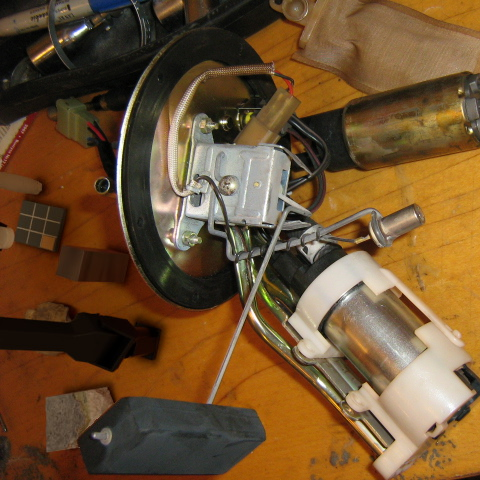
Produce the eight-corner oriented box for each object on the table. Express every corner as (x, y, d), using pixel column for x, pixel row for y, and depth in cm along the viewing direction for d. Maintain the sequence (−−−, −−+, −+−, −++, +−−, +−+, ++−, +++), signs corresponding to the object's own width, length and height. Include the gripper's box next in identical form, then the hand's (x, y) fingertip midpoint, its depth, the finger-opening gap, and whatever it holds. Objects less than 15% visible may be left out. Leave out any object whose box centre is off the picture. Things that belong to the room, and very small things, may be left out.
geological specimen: (40, 398, 96) (90, 388, 90) (67, 393, 101) (115, 383, 95) (43, 453, 93) (94, 446, 88) (70, 444, 99) (121, 437, 93)
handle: (29, 180, 111) (-39, 164, 97) (48, 176, 109) (-19, 159, 95) (28, 199, 110) (-40, 186, 96) (47, 196, 108) (-20, 182, 94)
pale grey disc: (16, 228, 93) (9, 228, 92) (11, 251, 93) (4, 250, 92) (1, 225, 95) (-6, 224, 93) (-3, 247, 95) (-10, 246, 93)
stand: (130, 254, 97) (84, 250, 86) (123, 282, 97) (77, 281, 86) (109, 249, 99) (62, 244, 89) (103, 276, 99) (55, 275, 89)
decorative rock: (30, 351, 106) (80, 354, 101) (13, 354, 102) (64, 358, 97) (31, 301, 106) (81, 302, 101) (14, 302, 102) (65, 303, 97)
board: (67, 209, 105) (62, 208, 104) (57, 252, 105) (53, 251, 104) (26, 200, 111) (22, 199, 109) (17, 241, 110) (12, 240, 109)
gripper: (-103, 169, 82) (-12, 187, 96) (-126, 272, 82) (-32, 274, 96) (-66, 177, 78) (23, 194, 92) (-90, 285, 77) (3, 286, 92)
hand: (3, 237), depth 93 cm, fingers closed on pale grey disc, 4 cm apart
